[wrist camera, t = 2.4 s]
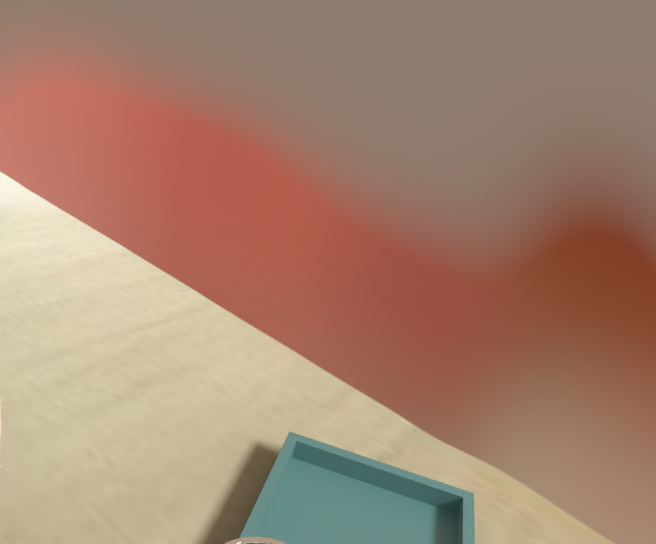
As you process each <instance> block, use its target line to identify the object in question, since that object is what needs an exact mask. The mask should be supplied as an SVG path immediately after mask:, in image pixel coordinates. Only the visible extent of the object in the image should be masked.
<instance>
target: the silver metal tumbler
mask: <svg viewBox="0 0 656 544" xmlns="http://www.w3.org/2000/svg"><path fill="white" fill-rule="evenodd" d="M224 544H287V543H285V542H282V541H280V540H276V539H272V538H267V537H243V538H238V539H234V540H231V541H229V542H226V543H224Z"/></svg>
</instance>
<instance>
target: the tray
mask: <svg viewBox="0 0 656 544" xmlns="http://www.w3.org/2000/svg"><path fill="white" fill-rule="evenodd" d="M243 537H267V538H272V539H276V540H280V541H282V542H285V543H287V544H475V537H474V493H471V492H468V491H465V490H462V489H459V488H456V487H453V486H450V485H447V484H444V483H441V482H438V481H435V480H432V479H429V478H426V477H423V476H420V475H417V474H414V473H411V472H408V471H405V470H402V469H399V468H396V467H393V466H391V465H388V464H385V463H382V462H379V461H376V460H373V459H370V458H367V457H364V456H361V455H358V454H355V453H352V452H349V451H346V450H343V449H340V448H337V447H334V446H331V445H328V444H325V443H322V442H319V441H316V440H313V439H310V438H307V437H304V436H301V435H298V434H295V433H292V432H289V434H288V436H287V438H286V440H285V442H284V444H283V446H282V448H281V451H280V453H279V455H278V457H277V459H276V461H275V463H274V465H273V468H272V470H271V472H270V474H269V476H268V478H267V480H266V482H265V484H264V487H263V489H262V491H261V493H260V495H259V497H258V499H257V501H256V503H255V506H254V508H253V510H252V512H251V514H250V516H249V518H248V520H247V523H246V525H245V527H244V529H243V531H242V533H241V535H240V537H239V538H243Z"/></svg>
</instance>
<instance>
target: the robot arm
mask: <svg viewBox="0 0 656 544" xmlns="http://www.w3.org/2000/svg"><path fill="white" fill-rule="evenodd" d="M0 455H1V400H0Z"/></svg>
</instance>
